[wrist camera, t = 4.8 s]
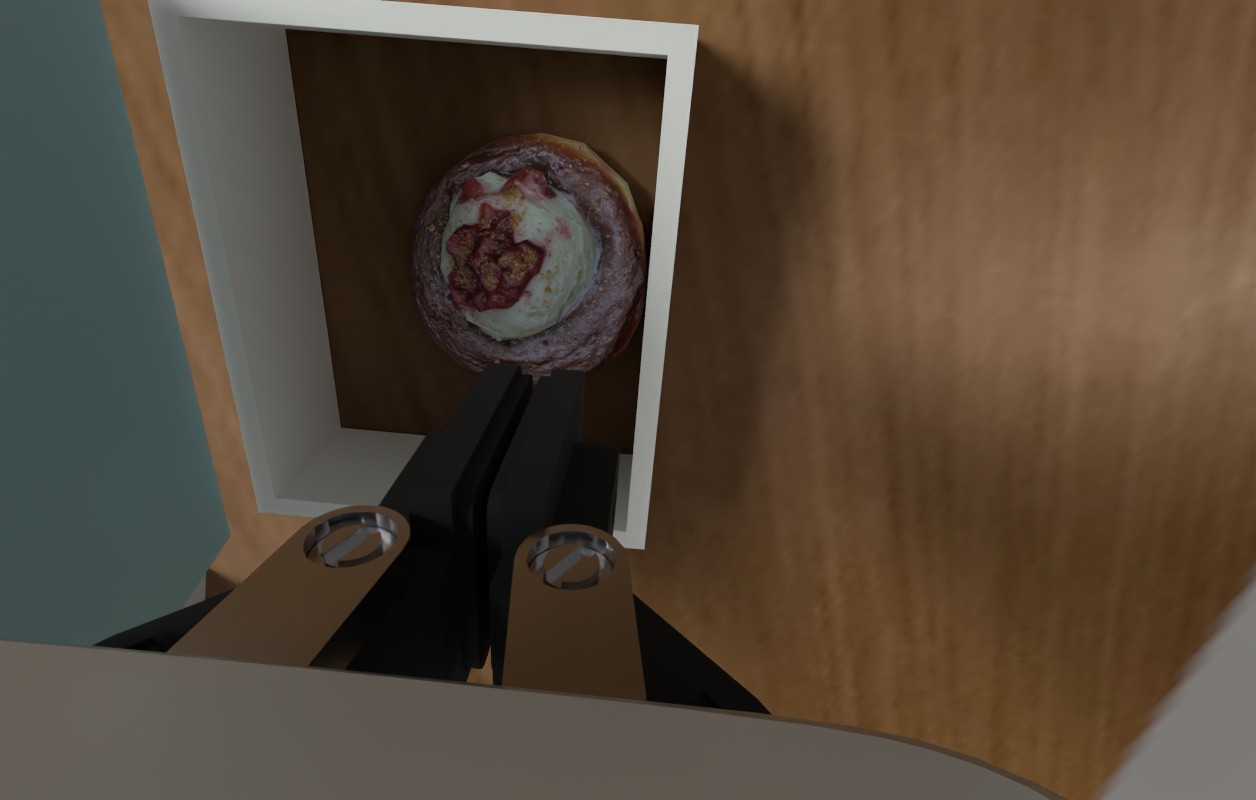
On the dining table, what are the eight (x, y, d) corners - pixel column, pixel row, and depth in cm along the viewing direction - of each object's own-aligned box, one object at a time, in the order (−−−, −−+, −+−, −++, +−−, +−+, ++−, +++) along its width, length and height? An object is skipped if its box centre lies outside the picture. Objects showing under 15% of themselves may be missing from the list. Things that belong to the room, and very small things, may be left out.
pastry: (548, 74, 19) (509, 75, 14) (706, 276, 21) (715, 331, 17) (368, 249, 21) (287, 296, 17) (526, 412, 24) (492, 491, 19)
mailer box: (260, 2, 18) (143, -18, 14) (692, 36, 18) (698, 24, 14) (327, 440, 25) (258, 512, 20) (649, 470, 24) (644, 549, 20)
